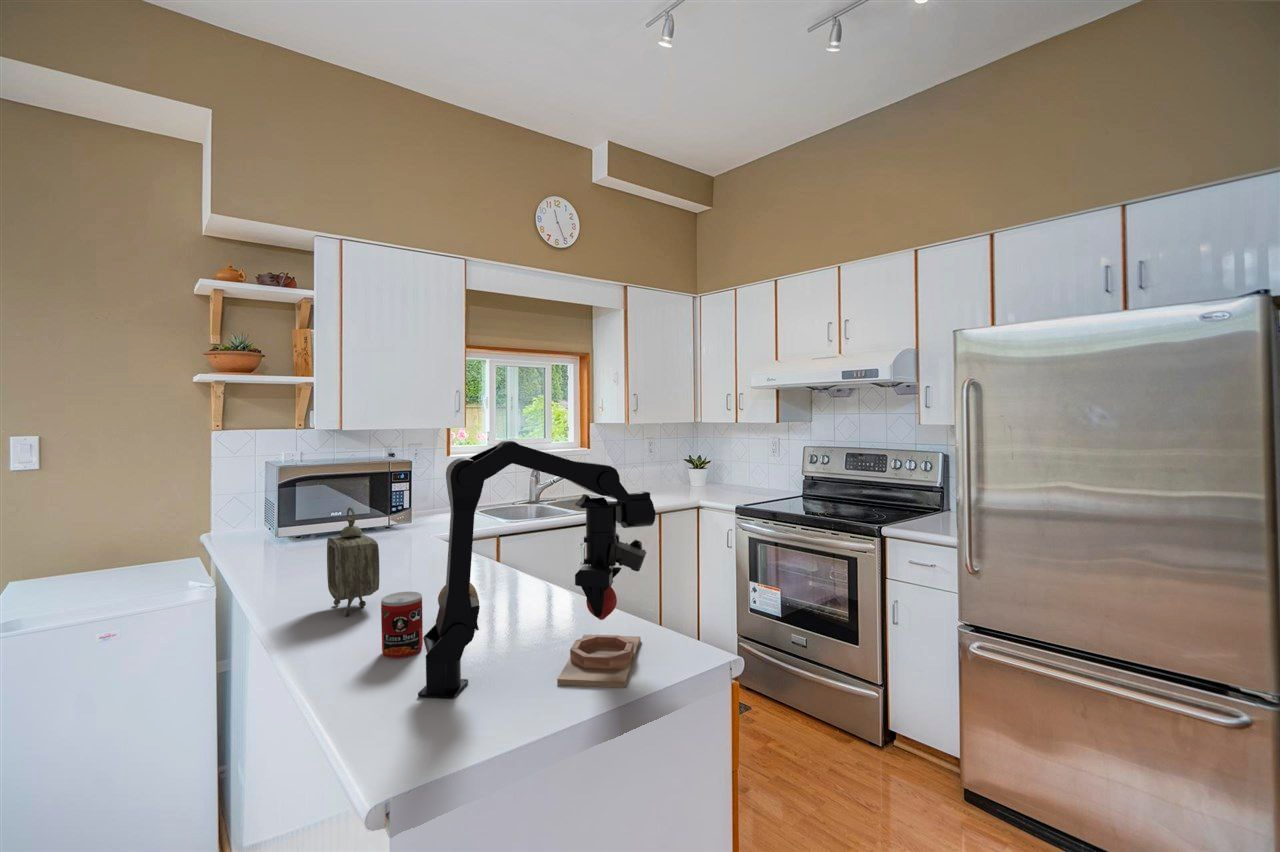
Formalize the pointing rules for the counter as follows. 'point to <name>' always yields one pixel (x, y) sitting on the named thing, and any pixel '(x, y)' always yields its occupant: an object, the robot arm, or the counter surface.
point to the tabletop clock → (352, 565)
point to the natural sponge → (471, 591)
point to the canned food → (401, 624)
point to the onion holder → (600, 661)
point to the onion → (606, 603)
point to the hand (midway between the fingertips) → (601, 611)
